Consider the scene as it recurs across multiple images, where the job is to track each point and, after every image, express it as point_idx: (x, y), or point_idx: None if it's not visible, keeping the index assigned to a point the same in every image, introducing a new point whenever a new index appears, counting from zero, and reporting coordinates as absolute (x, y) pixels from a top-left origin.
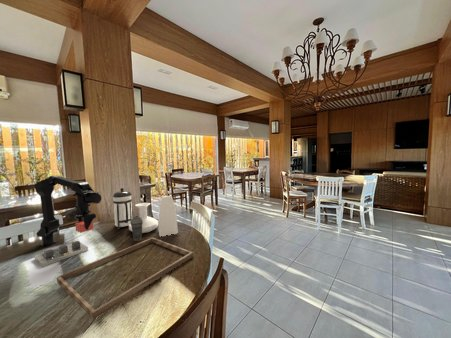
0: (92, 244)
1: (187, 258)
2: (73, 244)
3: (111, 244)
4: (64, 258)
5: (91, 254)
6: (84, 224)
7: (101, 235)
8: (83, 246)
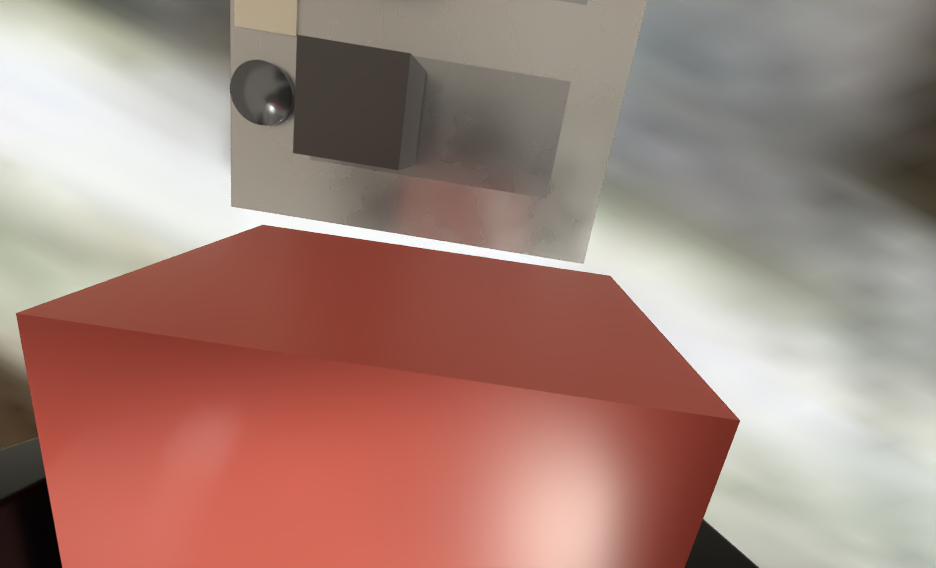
0: None
1: None
2: (326, 42)
3: None
4: None
5: (86, 145)
6: (25, 484)
7: None
8: (311, 186)
